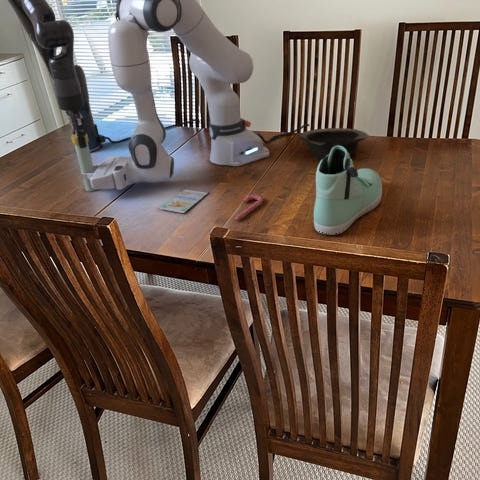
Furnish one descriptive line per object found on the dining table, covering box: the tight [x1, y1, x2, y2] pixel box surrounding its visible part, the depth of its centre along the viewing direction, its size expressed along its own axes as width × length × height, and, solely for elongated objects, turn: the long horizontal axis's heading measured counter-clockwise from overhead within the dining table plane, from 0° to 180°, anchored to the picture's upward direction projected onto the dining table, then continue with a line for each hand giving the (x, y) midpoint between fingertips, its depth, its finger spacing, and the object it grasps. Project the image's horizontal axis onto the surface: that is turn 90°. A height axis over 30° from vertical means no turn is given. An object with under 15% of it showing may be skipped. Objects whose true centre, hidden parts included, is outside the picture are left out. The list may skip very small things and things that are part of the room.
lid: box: [70, 134, 89, 146], centre depth 154 cm, size 5×5×2 cm
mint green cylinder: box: [73, 142, 98, 192], centre depth 159 cm, size 4×4×18 cm
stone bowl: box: [298, 127, 370, 162], centre depth 173 cm, size 25×25×9 cm
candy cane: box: [234, 194, 264, 222], centre depth 143 cm, size 6×15×2 cm, turn 145°
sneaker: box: [313, 146, 383, 236], centre depth 133 cm, size 14×35×20 cm, turn 152°
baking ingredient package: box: [158, 188, 208, 214], centre depth 150 cm, size 9×1×15 cm
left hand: (81, 145), depth 156 cm, fingers closed on lid, 5 cm apart
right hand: (85, 172), depth 160 cm, fingers closed on mint green cylinder, 4 cm apart
